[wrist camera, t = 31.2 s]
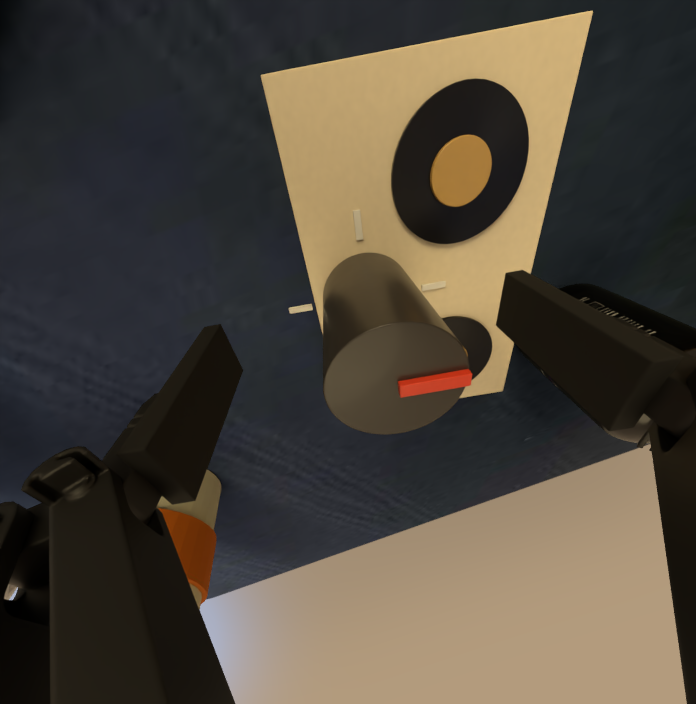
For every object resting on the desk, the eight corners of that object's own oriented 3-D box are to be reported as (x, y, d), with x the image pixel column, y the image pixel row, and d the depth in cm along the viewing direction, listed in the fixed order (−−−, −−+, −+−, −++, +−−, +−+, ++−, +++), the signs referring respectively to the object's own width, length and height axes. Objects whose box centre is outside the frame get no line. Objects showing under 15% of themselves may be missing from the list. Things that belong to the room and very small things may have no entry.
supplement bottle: (509, 366, 24) (643, 510, 14) (517, 294, 20) (713, 423, 10) (591, 346, 23) (791, 482, 13) (616, 269, 19) (926, 379, 9)
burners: (386, 95, 11) (388, 92, 11) (541, 66, 11) (549, 62, 11) (401, 396, 21) (403, 401, 21) (483, 382, 21) (487, 387, 21)
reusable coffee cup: (262, 485, 31) (221, 697, 19) (191, 523, 35) (118, 722, 22) (158, 430, 25) (-5, 693, 12) (86, 483, 28) (-96, 728, 16)
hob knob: (332, 341, 18) (338, 450, 11) (313, 261, 15) (305, 344, 8) (411, 326, 18) (467, 428, 11) (408, 243, 15) (482, 312, 8)
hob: (236, 95, 13) (218, 81, 11) (549, 35, 12) (597, 8, 10) (323, 399, 24) (323, 422, 22) (487, 371, 24) (503, 392, 22)
